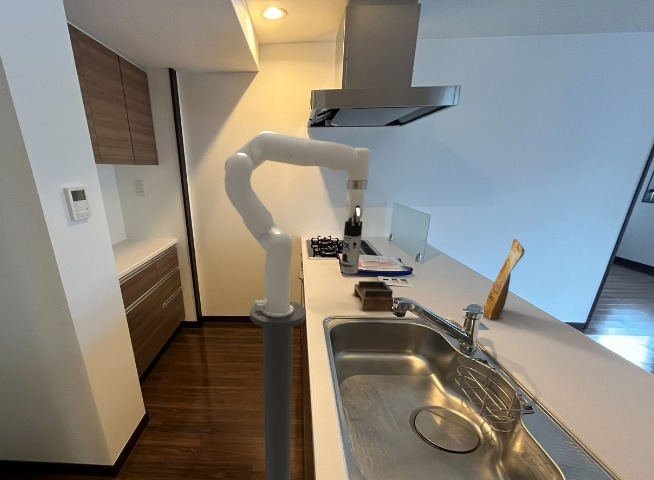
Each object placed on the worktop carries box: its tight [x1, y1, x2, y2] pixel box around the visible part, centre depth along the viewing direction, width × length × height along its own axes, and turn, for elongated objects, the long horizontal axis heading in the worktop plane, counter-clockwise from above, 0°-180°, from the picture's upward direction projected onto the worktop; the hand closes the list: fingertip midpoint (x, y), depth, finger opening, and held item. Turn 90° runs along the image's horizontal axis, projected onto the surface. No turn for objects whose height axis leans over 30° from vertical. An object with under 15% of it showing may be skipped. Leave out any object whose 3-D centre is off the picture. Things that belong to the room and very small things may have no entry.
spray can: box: [340, 220, 363, 275], centre depth 124 cm, size 7×7×20 cm
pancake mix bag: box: [484, 238, 525, 320], centre depth 119 cm, size 7×19×28 cm, turn 145°
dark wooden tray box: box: [353, 280, 395, 312], centre depth 135 cm, size 12×18×7 cm, turn 177°
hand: (352, 234), depth 122 cm, fingers closed on spray can, 6 cm apart
